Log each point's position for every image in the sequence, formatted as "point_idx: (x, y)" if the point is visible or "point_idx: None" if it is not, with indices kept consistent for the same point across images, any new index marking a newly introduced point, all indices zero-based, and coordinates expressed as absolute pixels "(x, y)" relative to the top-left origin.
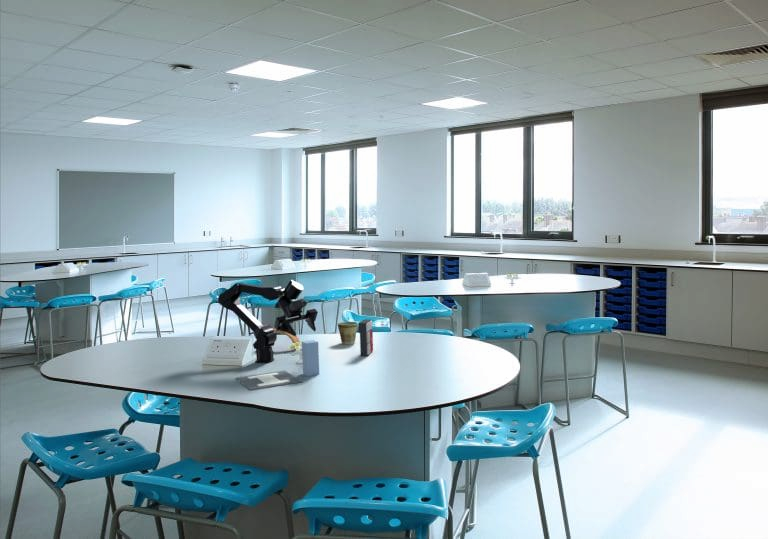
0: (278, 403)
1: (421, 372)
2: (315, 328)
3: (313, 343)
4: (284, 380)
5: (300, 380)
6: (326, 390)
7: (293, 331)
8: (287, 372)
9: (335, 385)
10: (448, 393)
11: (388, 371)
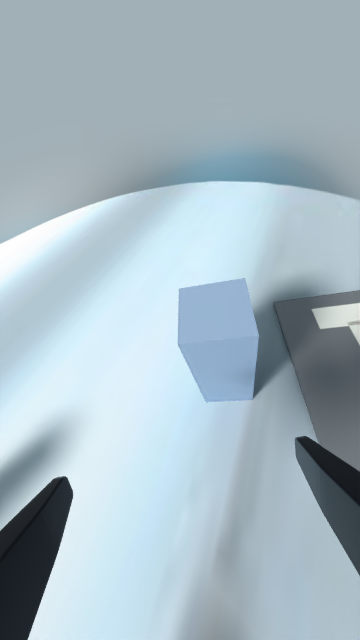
0: (340, 202)
1: (38, 286)
2: (45, 488)
3: (205, 287)
4: (332, 322)
5: (278, 308)
6: (234, 241)
7: (343, 466)
8: (319, 434)
9: (206, 261)
10: (102, 209)
11: (64, 312)
